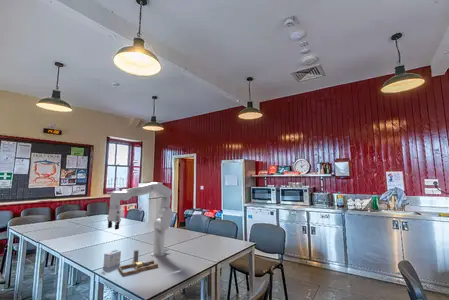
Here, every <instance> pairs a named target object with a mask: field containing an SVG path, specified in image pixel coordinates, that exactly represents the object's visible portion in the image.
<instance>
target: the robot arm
mask: <svg viewBox="0 0 449 300" xmlns="http://www.w3.org/2000/svg"><path fill="white" fill-rule="evenodd" d="M154 192H156V193H158V196H159V197H160V199H161V200H160V201H161V202H160V205H159V210H158V213H157V214H158V216H159V217H160V218H157V219H155V220H154V222H153V246H152V247H153V251H152V252H151V253H150V254H151V256H152V257H156V256H161V257H162V256H163V257H164V256H165V255H167V253H166V252H170V248H165V239H166V238H165V237H166V236H165V235H166V231H168V230H169V228H170V226H171V222H172V219H173V216H174V215H173V213H174V211H173V210H172V209H171V208H170V207H171V206H170V205H171V202H172V201H171V196H172V193H173V191H172V189H171V188H170V187H168V186H166V185H164V184H162V183H161V182H156V181H152V182H149V183H147V184H143V185H139V186H134V187H132V188H131V187H130V188H127V189H124V190H121V191H111V192H110V199H109V209H108V216H107V229H110V228H112V227H113V223H114V224H115V225H114V230H120V223H121V220H122V218H121V209H120V207H121V201H128V200H130V199H131V198H132V197H136V196H137V197H140V196H145V195H148V194H151V193H154Z"/></svg>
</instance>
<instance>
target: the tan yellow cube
mask: <svg viewBox="0 0 449 300" xmlns="http://www.w3.org/2000/svg"><path fill="white" fill-rule="evenodd" d="M142 266H143V263H142V261H138V262H137V263H135V267H134V270H137V268H138V267H142Z"/></svg>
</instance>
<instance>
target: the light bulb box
mask: <svg viewBox="0 0 449 300" xmlns="http://www.w3.org/2000/svg"><path fill="white" fill-rule="evenodd" d="M121 253H122V251H121V250H118V249H114V250H112V251H108V252H105V253H103V254H104V255H103V266H102V267H103V268H108V269H111V268H113V267H115V266H117V265H120V264H121V256H122V255H121Z"/></svg>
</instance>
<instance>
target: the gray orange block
mask: <svg viewBox="0 0 449 300" xmlns="http://www.w3.org/2000/svg"><path fill="white" fill-rule="evenodd" d="M137 262H139V249H133V259H132V264H135V263H137Z"/></svg>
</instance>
